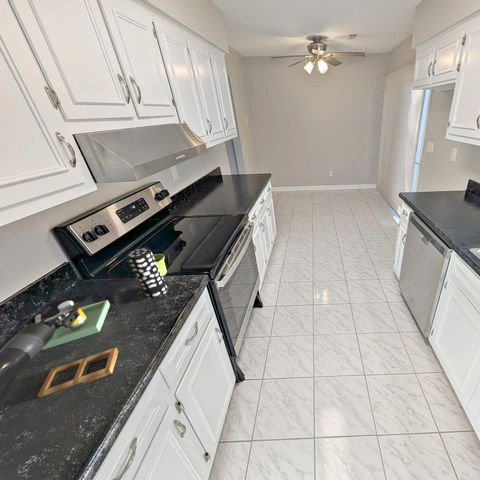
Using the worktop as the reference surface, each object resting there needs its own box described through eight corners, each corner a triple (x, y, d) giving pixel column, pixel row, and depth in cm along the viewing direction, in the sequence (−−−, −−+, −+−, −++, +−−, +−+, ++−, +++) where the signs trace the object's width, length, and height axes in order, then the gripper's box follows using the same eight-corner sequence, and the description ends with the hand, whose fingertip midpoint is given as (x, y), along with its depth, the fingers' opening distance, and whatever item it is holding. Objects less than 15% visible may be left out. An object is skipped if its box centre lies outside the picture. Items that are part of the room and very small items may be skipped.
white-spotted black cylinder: (158, 299, 104) (138, 258, 95) (141, 298, 106) (120, 257, 96) (171, 286, 111) (155, 247, 102) (155, 285, 113) (137, 246, 103)
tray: (42, 350, 85) (37, 344, 84) (61, 318, 98) (57, 313, 97) (99, 331, 91) (96, 326, 89) (110, 304, 103) (107, 299, 102)
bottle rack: (41, 400, 70) (37, 395, 69) (54, 373, 77) (51, 369, 76) (112, 373, 75) (109, 369, 74) (118, 351, 82) (115, 347, 81)
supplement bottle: (80, 318, 97) (67, 298, 92) (91, 319, 96) (78, 299, 91) (65, 328, 92) (50, 309, 88) (77, 330, 91) (62, 310, 86)
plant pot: (144, 278, 119) (136, 262, 115) (162, 267, 126) (155, 252, 122) (156, 282, 115) (149, 266, 111) (174, 271, 123) (168, 255, 118)
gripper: (47, 330, 75) (81, 294, 89) (-9, 339, 73) (36, 301, 87) (61, 347, 78) (92, 310, 92) (8, 356, 76) (48, 317, 90)
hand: (65, 306), depth 89 cm, fingers open, 8 cm apart
